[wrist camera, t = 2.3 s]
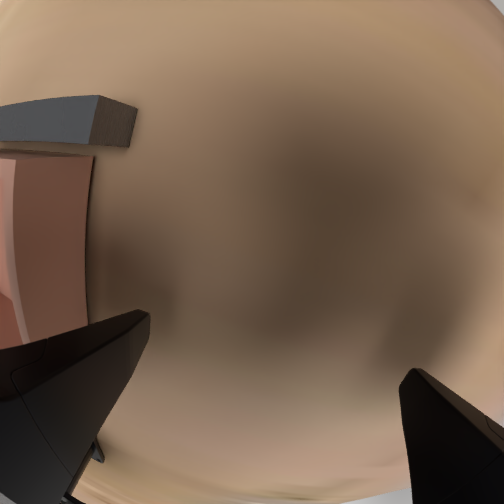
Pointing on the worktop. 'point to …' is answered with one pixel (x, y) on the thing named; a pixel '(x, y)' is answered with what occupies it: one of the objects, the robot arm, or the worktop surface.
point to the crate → (42, 244)
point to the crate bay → (69, 121)
